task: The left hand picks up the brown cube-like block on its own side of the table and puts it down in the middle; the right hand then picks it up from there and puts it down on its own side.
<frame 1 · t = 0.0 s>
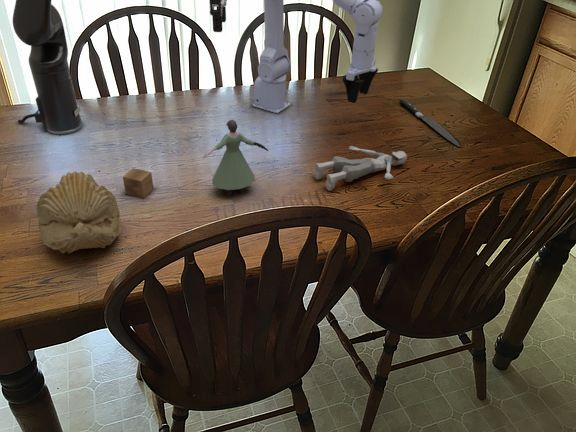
left hand: (219, 26, 125), 29 cm above the table, tool pointing down, fingers open, 8 cm apart
right hand: (357, 97, 141), 10 cm above the table, tool pointing down, fingers open, 7 cm apart
knife: (429, 123, 152), on the table
character figurine: (237, 189, 119), on the table
fossil: (85, 241, 101), on the table
brown cube-like block: (139, 191, 117), on the table
figurine: (364, 174, 127), on the table
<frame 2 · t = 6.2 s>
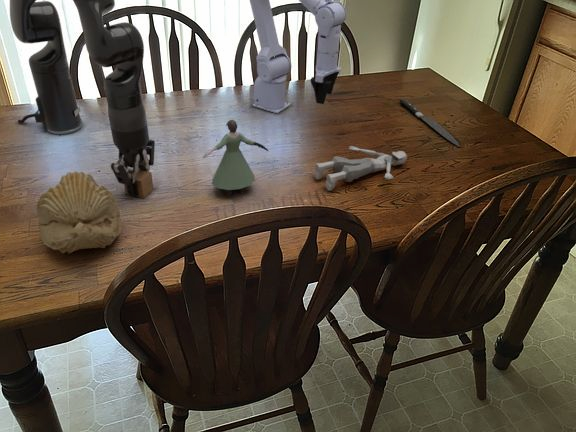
left hand: (139, 189, 116), 0 cm above the table, tool pointing down, fingers closed on brown cube-like block, 4 cm apart
right hand: (323, 98, 143), 8 cm above the table, tool pointing down, fingers open, 7 cm apart
brown cube-like block: (139, 191, 117), on the table, touching left hand
everything else where it was.
when the left hand's fingers open (1 cm above the table, at t = 17.9 s): brown cube-like block stays where it is, on the table.
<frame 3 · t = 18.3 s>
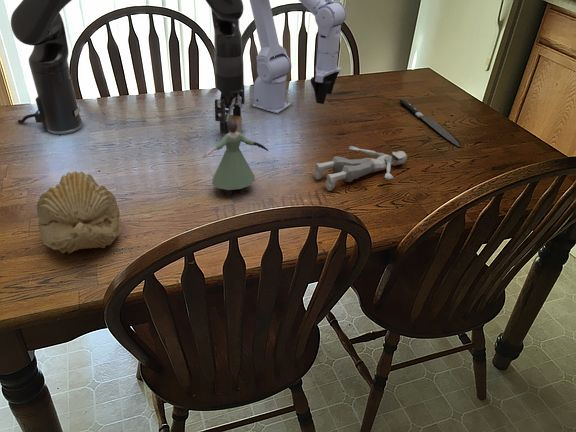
left hand: (231, 126, 141), 2 cm above the table, tool pointing down, fingers open, 8 cm apart
right hand: (323, 98, 143), 8 cm above the table, tool pointing down, fingers open, 7 cm apart
brown cube-like block: (231, 133, 142), on the table
everything else where it was.
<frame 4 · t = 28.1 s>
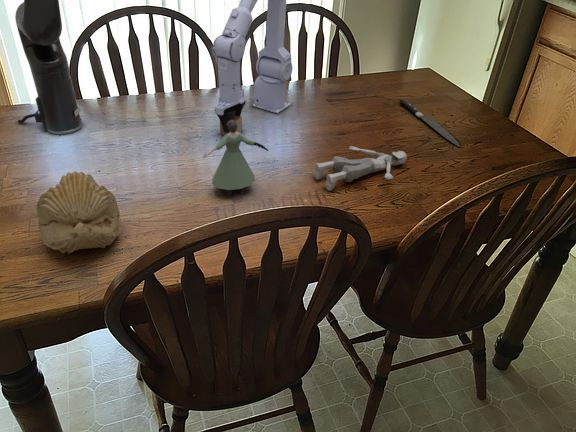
right hand: (231, 128, 141), 1 cm above the table, tool pointing down, fingers closed on brown cube-like block, 4 cm apart
brown cube-like block: (231, 133, 142), on the table, touching right hand
everything else where it was.
when the right hand's fingers open (2 cm above the table, at t = 32.5 s): brown cube-like block stays where it is, on the table.
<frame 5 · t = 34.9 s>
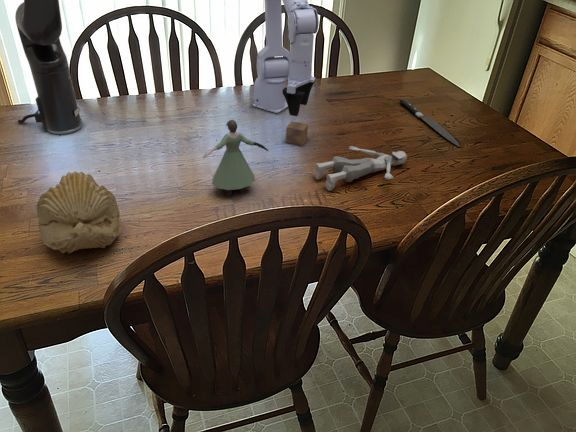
right hand: (298, 109, 134), 9 cm above the table, tool pointing down, fingers open, 7 cm apart
brown cube-like block: (296, 140, 140), on the table
everything else where it was.
at the end: brown cube-like block inside the target area (0.1 cm from its centre), on the table; brown cube-like block tilted 0°; the two hands never held the brown cube-like block at the same time; the left hand is holding nothing; the right hand is holding nothing; brown cube-like block at rest at the end (0.0 cm/s) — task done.
